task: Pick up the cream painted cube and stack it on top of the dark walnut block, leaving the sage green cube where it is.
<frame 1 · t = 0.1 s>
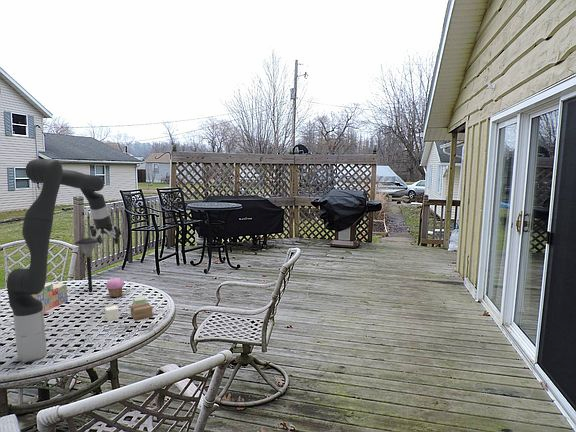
hand: (109, 243, 200), 31 cm above the table, tool tilted 20°, fingers open, 8 cm apart
cupcake: (115, 296, 215), on the table
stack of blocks: (46, 308, 198), on the table
solar garden light: (90, 292, 223), on the table
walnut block: (141, 316, 187), on the table
cream cube: (112, 318, 185), on the table
sage green cube: (139, 308, 197), on the table
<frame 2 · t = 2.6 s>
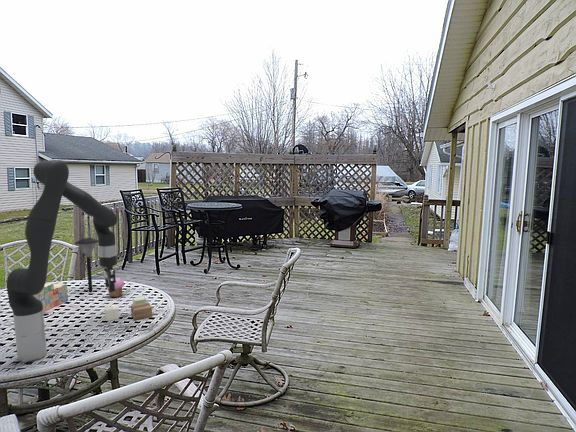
hand: (110, 289, 183), 14 cm above the table, tool pointing down, fingers open, 8 cm apart
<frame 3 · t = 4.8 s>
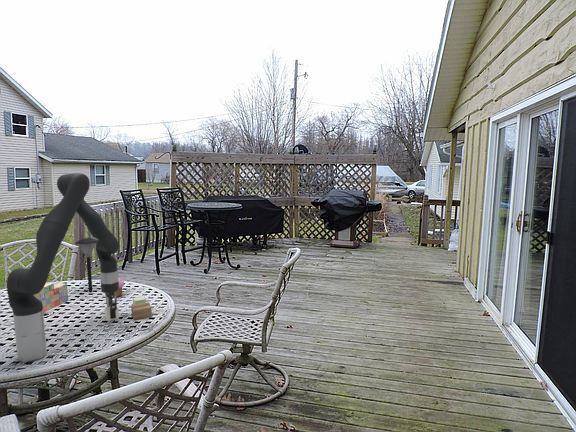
hand: (112, 316, 184), 1 cm above the table, tool pointing down, fingers closed on cream cube, 5 cm apart
cream cube: (112, 318, 185), on the table, touching gripper
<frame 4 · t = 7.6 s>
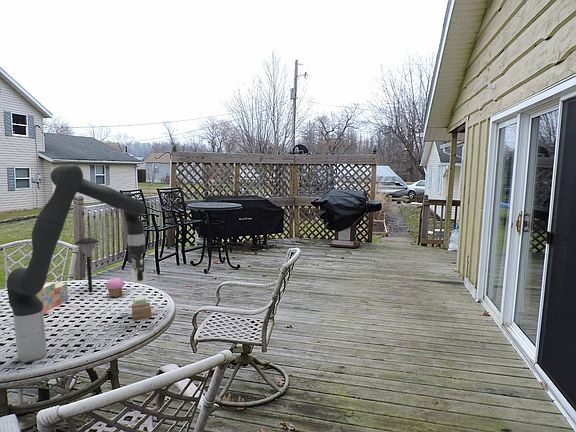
hand: (138, 278, 185), 18 cm above the table, tool pointing down, fingers closed on cream cube, 5 cm apart
cream cube: (138, 280, 185), point 17 cm above the table, touching gripper
when the fingers open (7 cm above the table, at t = 10.4 s): cream cube drops 2 cm, resting on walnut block.
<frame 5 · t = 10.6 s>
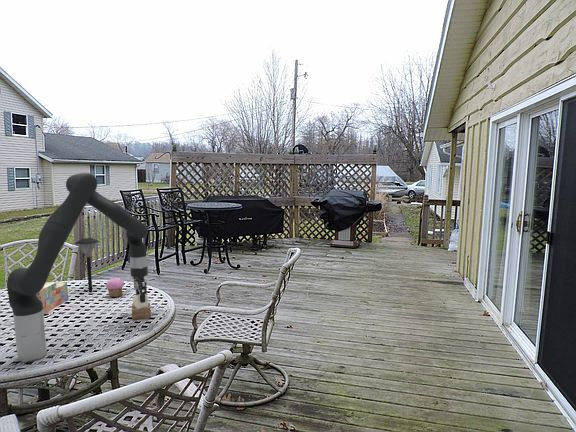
hand: (140, 300, 186), 8 cm above the table, tool pointing down, fingers open, 6 cm apart
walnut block: (141, 316, 187), on the table, touching cream cube
cream cube: (141, 306, 186), point 5 cm above the table, touching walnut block
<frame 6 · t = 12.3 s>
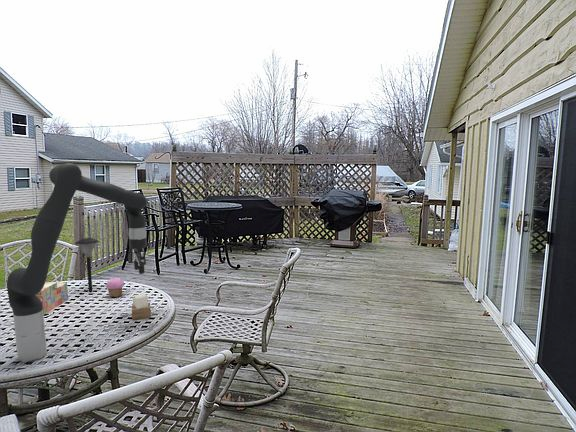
hand: (139, 271, 184), 21 cm above the table, tool pointing down, fingers open, 8 cm apart
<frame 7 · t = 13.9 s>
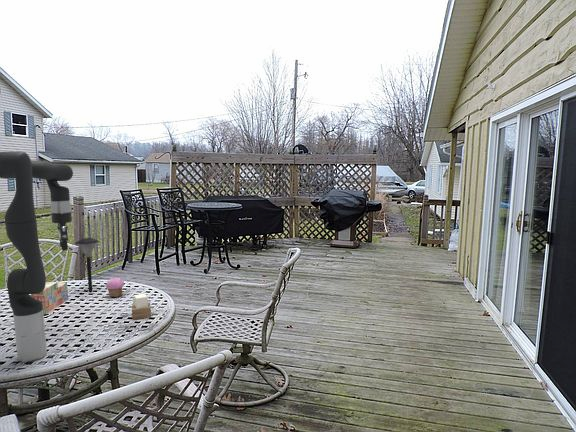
hand: (64, 248, 172), 35 cm above the table, tool pointing down, fingers open, 8 cm apart
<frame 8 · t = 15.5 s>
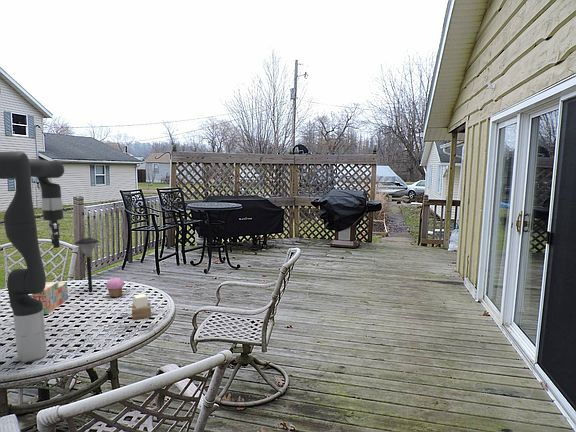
hand: (55, 245, 171), 36 cm above the table, tool pointing down, fingers open, 8 cm apart
at the end: cream cube 0.3 cm off-centre on the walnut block, point 5.0 cm above the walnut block's base; cream cube tilted 0°; the gripper is holding nothing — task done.
